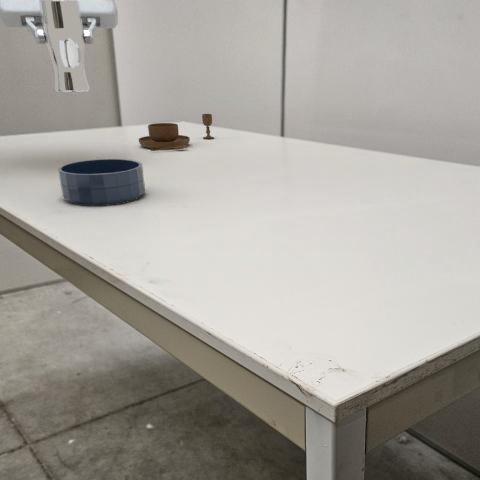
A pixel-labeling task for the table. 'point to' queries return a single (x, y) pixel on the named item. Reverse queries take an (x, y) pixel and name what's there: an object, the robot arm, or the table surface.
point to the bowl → (101, 181)
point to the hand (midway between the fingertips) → (65, 41)
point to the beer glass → (65, 43)
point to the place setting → (170, 135)
